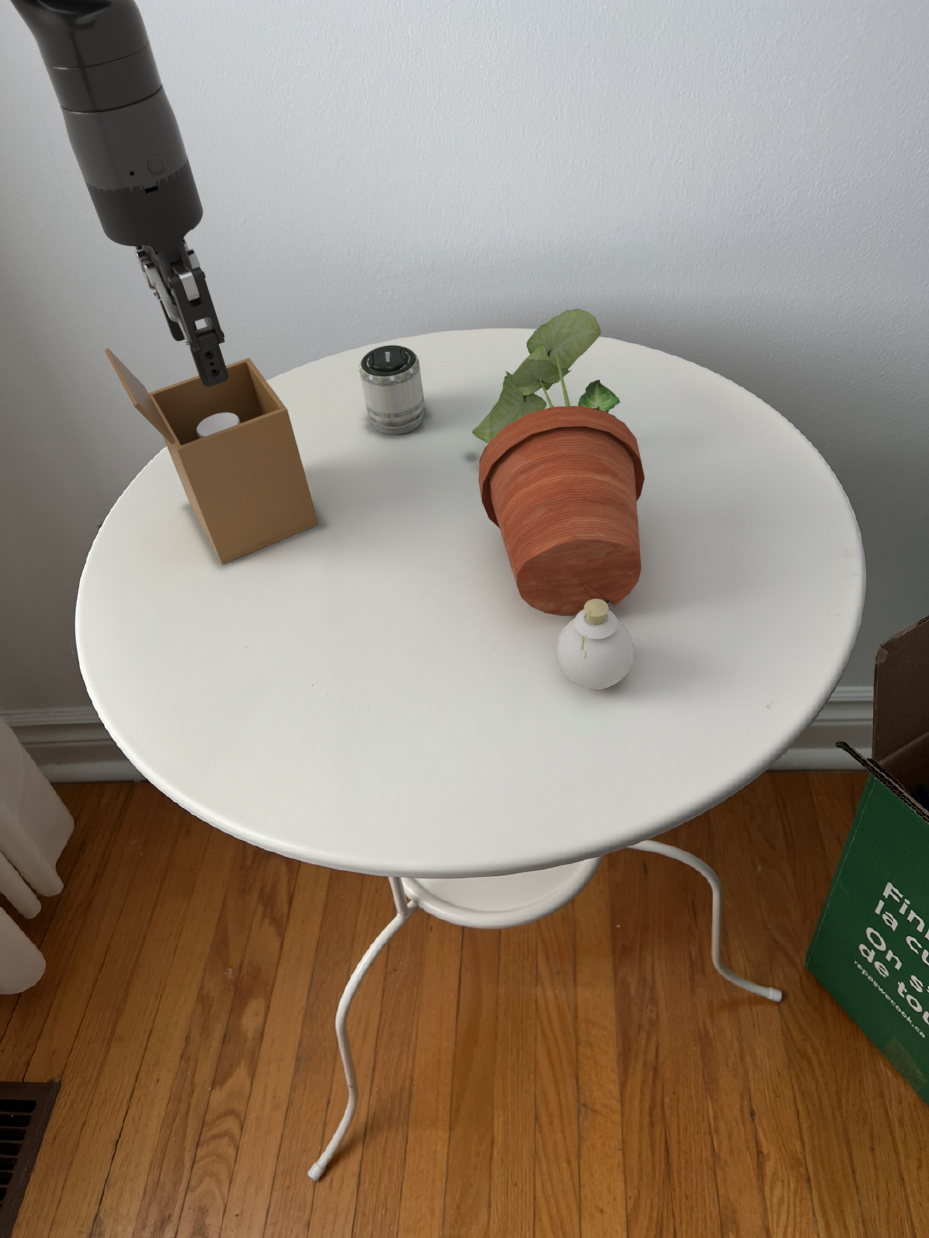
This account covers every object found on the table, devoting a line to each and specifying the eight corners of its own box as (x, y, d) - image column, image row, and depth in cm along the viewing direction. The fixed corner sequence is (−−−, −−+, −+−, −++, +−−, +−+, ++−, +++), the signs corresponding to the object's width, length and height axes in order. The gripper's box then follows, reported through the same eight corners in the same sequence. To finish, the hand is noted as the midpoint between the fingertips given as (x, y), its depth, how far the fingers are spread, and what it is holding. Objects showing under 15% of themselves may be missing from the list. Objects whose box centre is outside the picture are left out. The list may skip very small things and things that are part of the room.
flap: (175, 442, 77) (172, 445, 77) (144, 386, 83) (141, 389, 83) (137, 403, 73) (133, 406, 73) (107, 347, 79) (104, 350, 79)
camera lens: (372, 441, 98) (359, 377, 92) (367, 407, 102) (355, 345, 96) (430, 432, 98) (421, 368, 92) (423, 398, 102) (414, 335, 97)
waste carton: (222, 564, 87) (177, 450, 77) (191, 506, 93) (145, 393, 83) (318, 524, 90) (287, 409, 80) (282, 471, 96) (249, 357, 86)
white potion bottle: (640, 656, 75) (647, 570, 68) (615, 726, 71) (621, 643, 64) (569, 639, 77) (569, 553, 70) (541, 707, 73) (538, 623, 65)
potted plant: (668, 631, 79) (604, 374, 100) (676, 509, 67) (602, 246, 88) (488, 655, 80) (463, 396, 101) (464, 539, 68) (441, 272, 89)
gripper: (62, 145, 70) (136, 337, 82) (106, 211, 61) (182, 415, 73) (157, 119, 72) (216, 310, 84) (214, 180, 63) (270, 383, 75)
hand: (200, 359), depth 78 cm, fingers open, 8 cm apart
